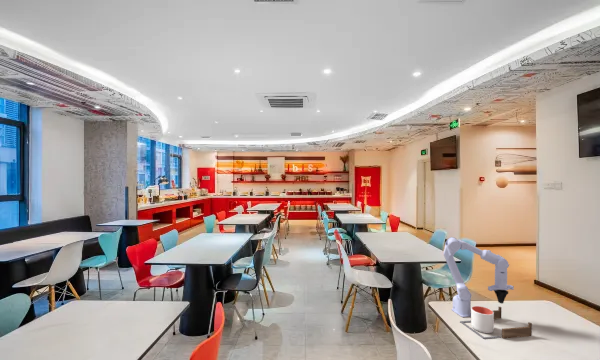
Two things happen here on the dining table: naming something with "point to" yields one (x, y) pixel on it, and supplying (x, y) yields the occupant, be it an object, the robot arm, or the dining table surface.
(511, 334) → the wooden pieces
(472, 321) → the cup
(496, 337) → the bracket
